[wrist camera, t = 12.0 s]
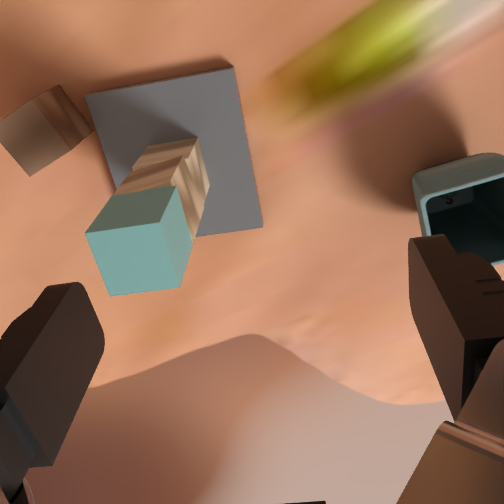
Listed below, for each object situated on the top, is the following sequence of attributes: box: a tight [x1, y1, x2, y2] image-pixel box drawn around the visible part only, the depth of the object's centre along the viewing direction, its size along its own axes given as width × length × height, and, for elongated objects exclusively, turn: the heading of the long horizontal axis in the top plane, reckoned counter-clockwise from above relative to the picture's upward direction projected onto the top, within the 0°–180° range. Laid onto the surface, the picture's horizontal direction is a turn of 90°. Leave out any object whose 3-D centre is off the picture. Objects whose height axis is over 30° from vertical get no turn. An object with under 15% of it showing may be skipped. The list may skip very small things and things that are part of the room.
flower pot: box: [412, 153, 504, 266], centre depth 44 cm, size 9×9×9 cm
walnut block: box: [0, 85, 94, 177], centre depth 44 cm, size 5×5×6 cm
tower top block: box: [113, 156, 204, 240], centre depth 39 cm, size 5×5×6 cm
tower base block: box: [132, 137, 210, 205], centre depth 44 cm, size 5×5×6 cm
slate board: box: [84, 66, 263, 237], centre depth 47 cm, size 16×14×1 cm
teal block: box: [85, 186, 193, 296], centre depth 34 cm, size 5×5×6 cm
